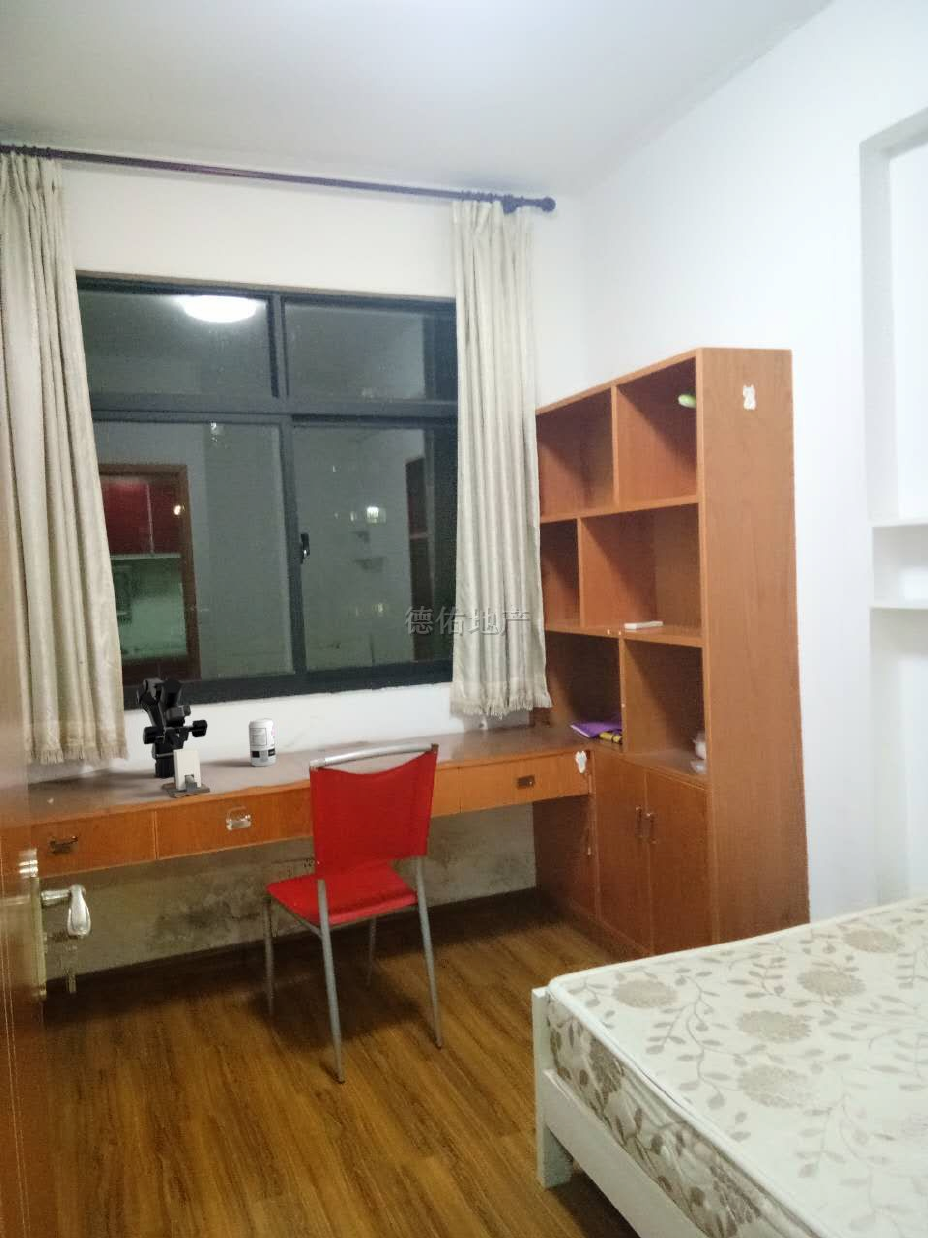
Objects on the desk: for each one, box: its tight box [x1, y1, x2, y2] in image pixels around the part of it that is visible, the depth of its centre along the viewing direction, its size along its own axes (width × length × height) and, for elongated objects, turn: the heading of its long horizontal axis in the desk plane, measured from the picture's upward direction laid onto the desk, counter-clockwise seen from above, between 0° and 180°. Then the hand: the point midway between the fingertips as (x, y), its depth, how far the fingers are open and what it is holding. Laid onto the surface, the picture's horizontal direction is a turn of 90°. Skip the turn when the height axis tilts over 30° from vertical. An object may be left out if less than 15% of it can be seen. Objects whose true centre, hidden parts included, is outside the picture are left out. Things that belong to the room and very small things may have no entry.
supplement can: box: [247, 718, 277, 768], centre depth 294 cm, size 8×8×15 cm
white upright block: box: [173, 746, 202, 791], centre depth 260 cm, size 4×6×11 cm, turn 121°
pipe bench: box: [162, 774, 211, 798], centre depth 264 cm, size 17×10×5 cm, turn 31°
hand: (181, 753), depth 266 cm, fingers closed
